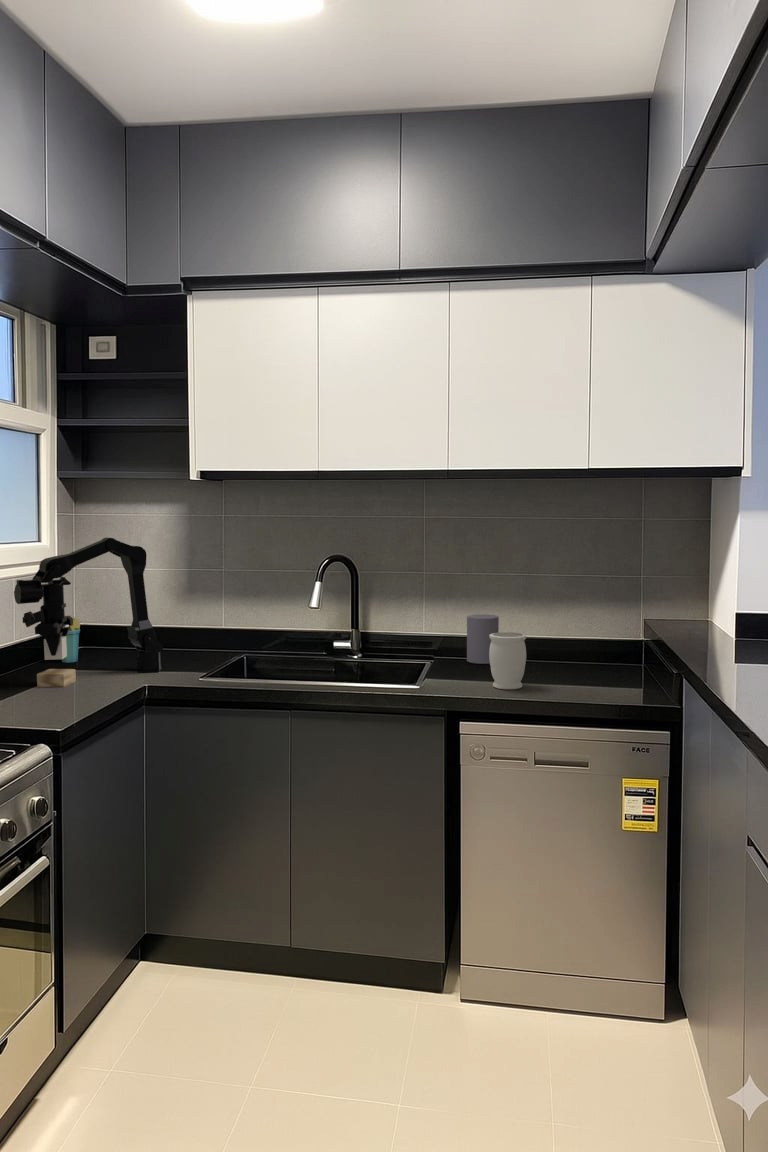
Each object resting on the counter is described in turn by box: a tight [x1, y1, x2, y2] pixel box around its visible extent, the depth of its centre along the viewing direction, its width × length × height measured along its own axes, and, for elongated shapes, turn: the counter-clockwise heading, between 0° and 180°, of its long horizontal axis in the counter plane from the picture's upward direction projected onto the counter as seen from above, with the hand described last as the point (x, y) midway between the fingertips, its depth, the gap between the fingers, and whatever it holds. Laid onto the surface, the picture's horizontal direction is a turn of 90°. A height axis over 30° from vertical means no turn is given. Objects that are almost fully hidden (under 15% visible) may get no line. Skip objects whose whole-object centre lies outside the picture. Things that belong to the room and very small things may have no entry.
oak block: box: [36, 668, 77, 688], centre depth 258 cm, size 8×8×4 cm
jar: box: [489, 631, 527, 690], centre depth 249 cm, size 11×10×15 cm
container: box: [466, 613, 500, 666], centre depth 288 cm, size 10×10×15 cm
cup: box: [61, 617, 81, 664], centre depth 293 cm, size 14×8×15 cm, turn 177°
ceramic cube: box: [43, 636, 67, 661], centre depth 257 cm, size 5×5×6 cm
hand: (55, 653), depth 257 cm, fingers closed on ceramic cube, 5 cm apart
